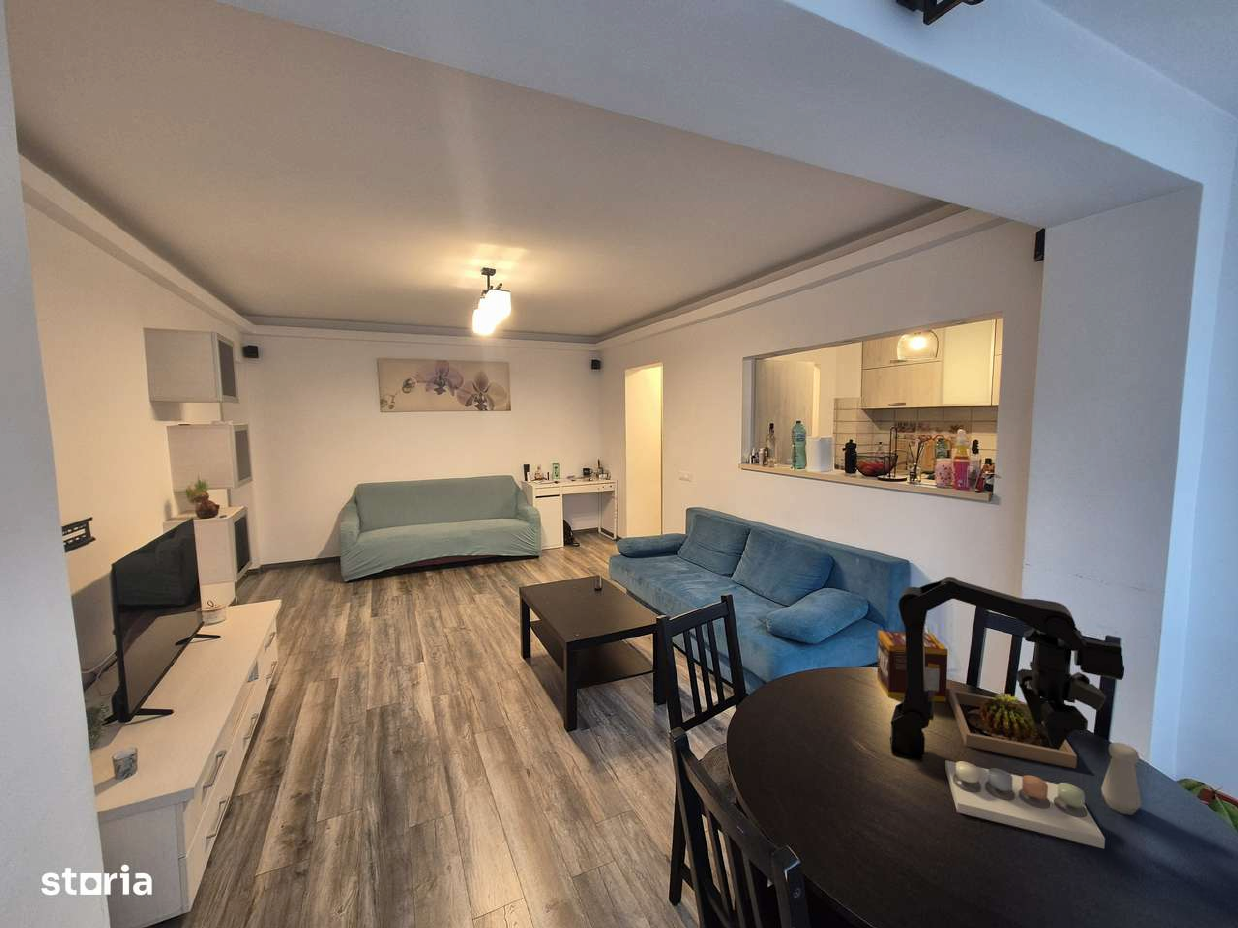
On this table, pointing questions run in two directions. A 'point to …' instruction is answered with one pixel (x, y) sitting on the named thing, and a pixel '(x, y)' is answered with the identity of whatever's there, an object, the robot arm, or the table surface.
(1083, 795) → the sage button
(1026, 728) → the cactus
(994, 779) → the slate button
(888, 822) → the table surface
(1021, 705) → the planter tray
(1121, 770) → the salt shaker
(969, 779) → the ivory button
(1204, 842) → the table surface
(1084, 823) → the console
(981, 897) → the table surface
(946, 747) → the table surface
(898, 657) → the supplement box
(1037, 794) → the terracotta button
